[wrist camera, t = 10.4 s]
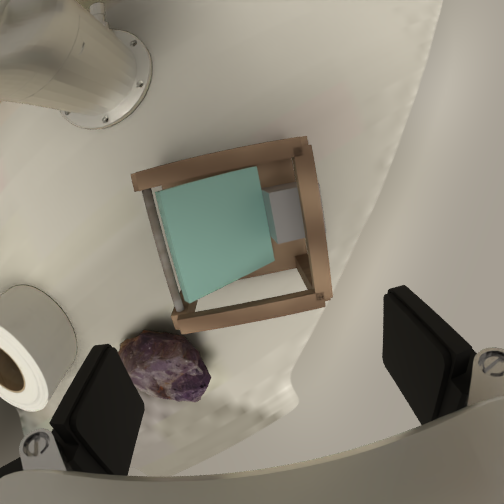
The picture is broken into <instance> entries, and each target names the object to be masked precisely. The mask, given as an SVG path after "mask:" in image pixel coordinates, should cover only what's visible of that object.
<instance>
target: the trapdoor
mask: <svg viewBox="0 0 504 504" xmlns="http://www.w3.org/2000/svg"><path fill="white" fill-rule="evenodd" d="M155 194H156V198H157V202H158V206H159V210H160V214H161V218H162V222H163V226H164V230H165V234H166V237H167V241H168V245H169V248H170V252H171V256H172V259H173V263H174V266H175V270H176V273H177V277H178V280H179V283H180V287H181V290H182V293H183V297H184V300H185V301H186V302H188V303H192V302H194V301H196V300H198V299H200V298H202V297H204V296H206V295H208V294H210V293H212V292H214V291H216V290H218V289H220V288H222V287H224V286H226V285H228V284H230V283H232V282H234V281H236V280H238V279H240V278H242V277H244V276H246V275H248V274H250V273H252V272H254V271H256V270H258V269H260V268H262V267H263V266H265V265H267V264H269V263H271V262H273V261H275V259H274V254H273V248H272V243H271V238H270V232H269V227H268V222H267V217H266V211H265V206H264V201H263V196H262V191H261V185H260V180H259V175H258V170H257V166H255V167H249V168H245V169H240V170H236V171H232V172H228V173H224V174H220V175H216V176H212V177H208V178H204V179H201V180H197V181H193V182H189V183H186V184H182V185H178V186H175V187H171V188H168V189H164V190H161V191H158V192H155Z"/></svg>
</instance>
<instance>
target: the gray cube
mask: <svg viewBox="0 0 504 504" xmlns="http://www.w3.org/2000/svg"><path fill="white" fill-rule="evenodd" d="M318 187H319V183H318ZM261 191H262V196H263V201H264V206H265V211H266V217H267V222H268V227H269V232H270V236H271V237H272V238H273V239H274V240H275V241H276V243H277V244H281V243H285V242H289V241H294V240H298V239H302V238H306V237H305V230H304V224H303V218H302V212H301V206H300V200H299V194H298V188H297V182H296V181H295V182H290V183H285V184H280V185H275V186H270V187H265V188H261ZM319 193H320V187H319ZM320 199H321V194H320ZM321 206H322V200H321ZM322 213H323V207H322ZM323 220H324V214H323ZM324 227H325V221H324ZM325 233H326V228H325Z"/></svg>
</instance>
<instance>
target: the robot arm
mask: <svg viewBox="0 0 504 504" xmlns="http://www.w3.org/2000/svg"><path fill="white" fill-rule="evenodd" d="M135 44H136V46H134V45H135ZM151 74H152V62H151V58H150V54H149V52H148V50H147V48H146V46H145V45H144V44H143V43H142V41H141V40H140V39H138V38H137V37H136V36H135V35H133V34H131V33H129V32H127V31H122V30H111V29H110V28H109V25H108V23H107V22H105V5H104V3H101V2H99V3H94V4H92V5H91V6H90V7H89V12H88V11H87V10H86V9H85V8H84V7H82V6H81V5H80V4H79V3H78V2H77V1H75V0H0V100H1V101H9V102H16V103H22V104H29V105H35V106H41V107H46V108H52V109H57V110H60V112H61V114H62V115H63V116H64V118H65V119H66V120H68V121H69V122H70V123H71V124H73V125H75V126H77V127H81V128H85V129H103V128H106V127H109V126H112V125H114V124H116V123H118V122H120V121H122V120H123V119H124V118H126V117H127V116H128V115H130V114H131V113H132V112H133V111H134V110H135V109H136V108H137V106H138V105H139V103H140V102H141V101H142V99H143V98H144V96H145V94H146V92H147V90H148V87H149V84H150V81H151ZM141 84H144V85H143V87H140V85H141ZM108 118H109V121H108V122H107V119H108ZM382 358H383V363H384V365H385V367H386V369H387V370H388V372H389V373H390V375H391V376H392V378H393V379H394V381H395V382H396V384H397V386H398V387H399V389H400V391H401V392H402V394H403V395H404V397H405V399H406V400H407V402H408V403H409V405H410V407H411V408H412V410H413V411H414V413H415V415H416V416H417V418H418V420H419V421H420V423H421V426H419V427H416V428H414V429H411V430H408V431H406V432H403V433H400V434H397V435H394V436H392V437H389V438H386V439H383V440H380V441H377V442H374V443H371V444H368V445H365V446H362V447H359V448H355V449H352V450H348V451H344V452H341V453H337V454H333V455H329V456H325V457H321V458H317V459H312V460H308V461H303V462H298V463H293V464H288V465H283V466H277V467H271V468H265V469H258V470H252V471H244V472H235V473H225V474H214V475H200V476H176V477H175V476H174V477H147V476H146V477H145V476H127V475H128V471H129V467H130V463H131V459H132V455H133V451H134V447H135V443H136V440H137V436H138V432H139V428H140V425H141V421H142V417H143V414H144V403H143V400H142V399H141V397H140V395H139V393H138V391H137V389H136V387H135V386H134V384H133V382H132V380H131V378H130V376H129V374H128V372H127V370H126V368H125V366H124V364H123V362H122V360H121V358H120V356H119V354H118V352H117V350H116V349H115V348H114V347H112V346H111V345H109V344H103V345H95V346H94V347H93V348H92V349H91V351H90V353H89V354H88V356H87V358H86V359H85V361H84V363H83V364H82V366H81V368H80V369H79V371H78V373H77V374H76V376H75V378H74V380H73V381H72V383H71V385H70V386H69V388H68V390H67V392H66V394H65V395H64V397H63V399H62V401H61V402H60V404H59V406H58V408H57V410H56V412H55V413H54V415H53V417H52V419H51V421H50V425H51V426H52V427H53V430H52V432H51V431H49V430H48V429H43V428H42V429H36V430H33V431H31V432H30V433H28V434H27V435H26V436H25V437H24V438H23V440H22V441H21V444H20V447H19V452H20V457H19V458H18V459H16V460H14V461H12V462H10V463H9V464H7V465H5V466H3V467H1V468H0V504H504V349H502V348H496V347H492V348H486V349H483V350H481V351H480V352H478V353H476V352H475V351H474V350H473V349H472V346H471V345H469V343H467V342H466V341H465V340H464V339H463V338H462V337H461V336H460V335H459V334H458V333H457V332H456V331H455V330H454V329H453V328H452V327H451V326H450V325H449V324H448V323H446V322H445V321H444V320H443V319H442V318H441V317H440V316H439V315H438V314H436V313H435V312H434V311H433V310H432V309H431V308H430V307H429V306H428V305H427V304H426V303H425V302H423V301H422V300H421V299H420V298H419V297H418V296H417V295H416V294H414V293H413V292H412V291H411V290H410V289H409V288H408V287H406V286H405V285H402V286H398V287H395V288H391V289H389V290H388V293H387V294H385V295H384V317H383V356H382Z"/></svg>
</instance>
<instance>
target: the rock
mask: <svg viewBox="0 0 504 504" xmlns="http://www.w3.org/2000/svg"><path fill="white" fill-rule="evenodd" d="M118 354H119V356H120V358H121V360H122V362H123V364H124V366H125V368H126V370H127V372H128V374H129V376H130V378H131V380H132V382H133V384H134V386H135V387H137V388H139V389H140V391H142V392H145V393H147V394H149V395H150V396H152V397H159V398H163V399H174V400H176V401H192V402H197V401H199V400H201V396H202V395H203V394H204V392H205V391H206V389H207V387H208V384H209V382H210V379H211V376H210V374H209V372H208V370H207V367H206V365H205V364H204V362H203V361H202V359H201V357H200V353H199V351H197V350H196V349H195V348H194V347H193V346H192V345H191V343H190V342H189V341H188V340H187V339H186V338H185V337H183V336H180V335H176V334H171V333H168V332H163V333H159V332H153V331H147V330H143V332H142V333H141V334H140V335H139V336H137V337H134V338H131V339H127V340H125V341H124V342H122V343H121V344H120V351H119V352H118Z"/></svg>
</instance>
